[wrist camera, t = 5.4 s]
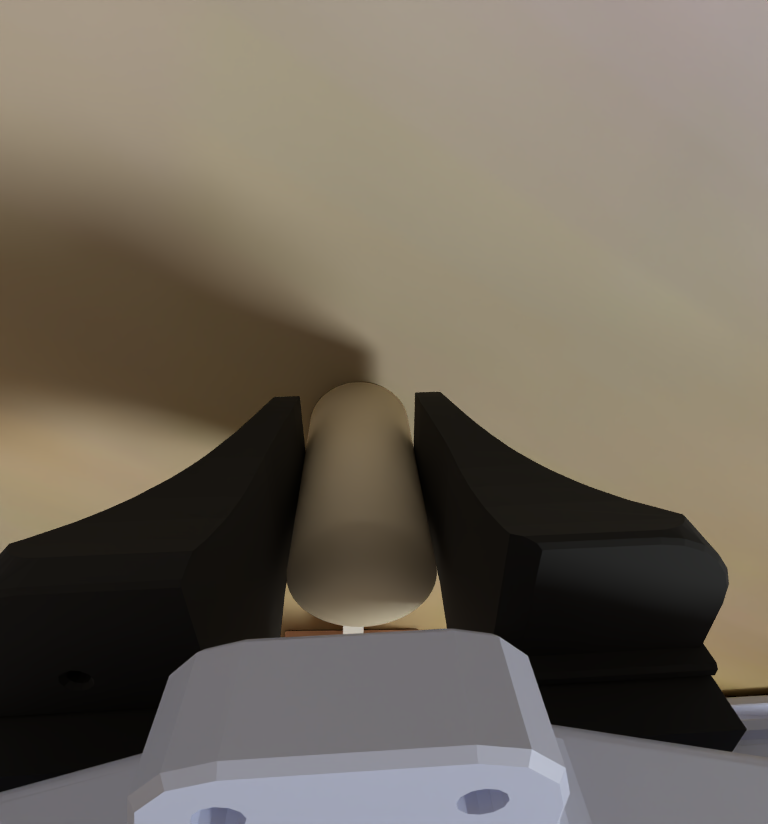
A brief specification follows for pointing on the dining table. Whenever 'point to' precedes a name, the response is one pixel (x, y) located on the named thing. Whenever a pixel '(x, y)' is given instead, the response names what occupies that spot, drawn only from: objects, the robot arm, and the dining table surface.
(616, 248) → the dining table surface
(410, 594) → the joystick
